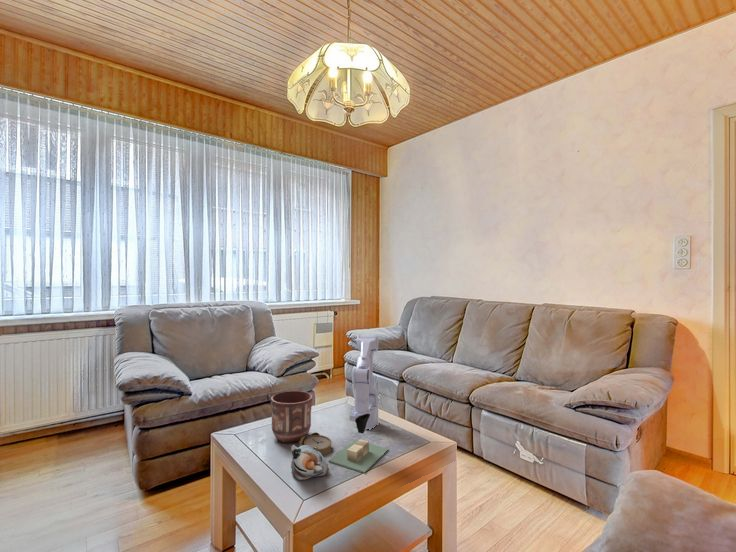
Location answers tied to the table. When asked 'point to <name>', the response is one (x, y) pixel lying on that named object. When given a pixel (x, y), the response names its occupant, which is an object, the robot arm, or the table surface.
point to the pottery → (291, 415)
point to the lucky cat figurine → (307, 462)
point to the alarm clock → (317, 442)
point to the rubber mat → (364, 462)
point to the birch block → (358, 450)
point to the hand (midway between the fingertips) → (361, 432)
